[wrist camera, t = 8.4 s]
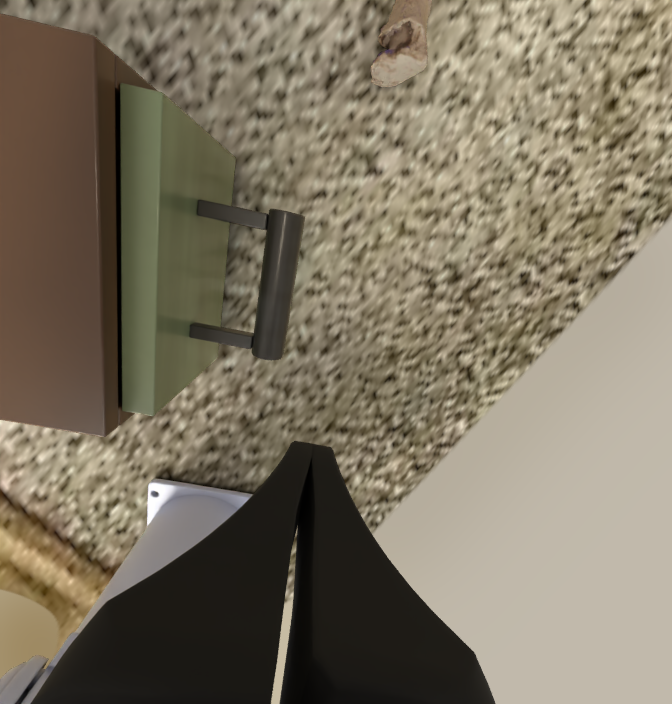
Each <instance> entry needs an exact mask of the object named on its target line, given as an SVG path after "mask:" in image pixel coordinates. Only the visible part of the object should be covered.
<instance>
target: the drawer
mask: <svg viewBox="0 0 672 704" xmlns="http://www.w3.org/2000/svg"><path fill="white" fill-rule="evenodd" d="M115 139H116V237H117V334H118V369H119V368H121V367H122V411H126V412H132V413H137V414H143V415H149V416H154V415H155V414H157V413H158V412H159V411H160V410H161V409H162V408H163V407H164V406H165V405H166V404H168V403H169V402H170V401H171V400H172V399H173V398H174V397H175V396H176V395H177V394H179V393H180V392H181V391H182V390H183V389H184V388H185V387H186V386H187V385H188V384H190V383H191V382H192V381H193V380H194V379H195V378H196V377H197V376H198V375H199V374H201V373H202V372H203V371H204V370H205V369H206V368H207V367H208V366H209V365H211V364H212V363H213V362H214V361H215V360H216V359H217V358H218V349H219V343H220V344H226V345H231V346H236V347H242V348H247V349H251V348H252V354H253V355H254V356H255V357H257V358H260V359H264V360H279V359H281V358H283V354H284V348H285V342H286V335H287V329H288V323H289V316H290V310H291V304H292V297H293V291H294V285H295V278H296V272H297V265H298V259H299V253H300V246H301V240H302V234H303V227H304V221H305V217H304V216H302V215H299V214H295V213H292V212H287V211H283V210H277V209H270V210H269V215H268V214H266V213H262V212H257V211H252V210H247V209H243V208H238V207H233V206H232V195H233V184H234V173H235V162H236V158H235V157H234V156H233V155H232V154H231V153H230V152H229V151H228V150H226V149H225V148H224V147H223V146H222V145H221V144H220V143H219V142H217V141H216V140H215V139H214V138H213V137H212V136H211V135H210V134H208V133H207V132H206V131H205V130H204V129H203V128H202V127H201V126H199V125H198V124H197V123H196V122H195V121H194V120H193V119H192V118H190V117H189V116H188V115H187V114H186V113H185V112H184V111H183V110H181V109H180V108H179V107H178V106H177V105H176V104H175V103H174V102H172V101H171V100H170V99H169V98H168V97H167V96H166V95H165V94H163V93H162V92H159V91H154V90H150V89H146V88H141V87H137V86H133V85H128V84H124V83H121V84H120V128H119V127H117V126H115ZM230 223H234V224H239V225H244V226H248V227H253V228H258V229H263V230H267V233H266V241H265V249H264V257H263V265H262V273H261V281H260V289H259V297H258V305H257V313H256V321H255V329H254V333H250V332H245V331H239V330H234V329H229V328H224V327H221V316H222V305H223V294H224V283H225V272H226V261H227V250H228V239H229V228H230Z"/></svg>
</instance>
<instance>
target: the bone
mask: <svg viewBox="0 0 672 704" xmlns="http://www.w3.org/2000/svg"><path fill="white" fill-rule="evenodd" d="M431 3H432V0H396V2H395V4H394V5H393V9H392V12H391V14H390V17H389V20H388V23H387V24H386V25H384V26H383V28H382V29H381V30H380V31H381V33H380V35H379V36H378V38H379V39H378V42H379V43H380V44H381V45H382V47H383V46H384V48H386V49H387V50H385V51H383V52H380V54H378V56H377V58H376V59H375V61H373V64H372V66H371V72H372V73H371V76H372V79H371V83H373V84H375V85H378V86H381V87H392V86H396V85H398V84H401V83H402V82H404V81H405V80H407V79H409V78H411V77H413V76H415V75H417V74H418V73H420V72H422V71H423V70H424V69H425V68H426V66H427V43H426V31H427V20H428V17H429V15H430V9H431Z"/></svg>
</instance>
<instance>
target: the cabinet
mask: <svg viewBox="0 0 672 704" xmlns="http://www.w3.org/2000/svg"><path fill="white" fill-rule="evenodd" d="M121 83H124V84H128V85H133V86H137V87H141V88H146V89H150V90H154V91H157V90H156V89H155V88H154V87H152V86H151V85H150V84H149V83H148V82H147V81H146V80H144V79H143V78H142V77H141V76H140V75H139V74H138V73H136V72H135V71H134V70H133V69H132V68H131V67H130V66H128V65H127V64H126V63H125V62H124V61H123V60H122V59H120V58H119V57H118V56H117V55H115V54H114V53H113V52H112V51H111V50H110V49H109V48H108V47H107V46H105V45H104V44H103V43H102V42H101V41H100V40H99V39H97V38H96V37H95V36H93V35H89V34H85V33H81V32H77V31H72V30H68V29H64V28H60V27H55V26H51V25H47V24H43V23H39V22H34V21H30V20H26V19H22V18H17V17H13V16H9V15H5V14H0V420H5V421H11V422H17V423H23V424H29V425H35V426H41V427H47V428H52V429H58V430H64V431H70V432H76V433H82V434H88V435H93V436H99V437H106V436H107V435H108V434H110V433H111V432H112V431H113V430H114V429H116V428H117V427H118V425H121V424H122V423H123V422H125V421H126V420H127V419H128V418H130V417H131V416H132V415H133V414H135V413H132V412H126V411H122V367H121V368H119V369H118V334H117V237H116V139H115V126H117V127H119V128H120V84H121Z"/></svg>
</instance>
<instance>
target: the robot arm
mask: <svg viewBox="0 0 672 704" xmlns="http://www.w3.org/2000/svg"><path fill="white" fill-rule="evenodd" d="M155 491H157V492H158V493H157V492H155ZM297 525H298V531H297V547H296V565H295V582H294V599H293V609H292V619H291V626H290V633H289V641H288V648H287V655H286V663H285V669H284V676H283V684H282V691H281V698H280V704H495V701H494V698H493V696H492V693H491V691H490V688H489V685H488V683H487V681H486V679H485V676H484V674H483V672H482V669H481V667H480V665H479V663H478V660H477V658H476V655H475V654H474V652H473V651H472V650H471V649H470V648H469V647H468V646H467V645H466V644H465V643H464V642H463V641H462V640H461V639H460V638H459V637H458V636H457V635H456V634H455V633H454V632H453V631H452V630H451V629H450V628H449V627H448V626H447V625H446V624H445V623H444V622H443V621H442V620H441V619H440V618H439V617H438V616H437V615H436V614H435V613H434V612H433V611H432V610H431V609H430V608H429V607H428V606H427V605H426V603H425V602H424V601H423V600H422V599H421V598H420V597H419V596H418V595H417V593H416V592H415V591H414V590H413V589H412V588H411V587H410V585H409V584H408V583H407V582H406V580H405V579H404V578H403V576H402V575H401V574H400V573H399V571H398V570H397V569H396V568H395V566H394V565H393V564H392V563H391V561H390V560H389V559H388V558H387V556H386V554H385V553H384V552H383V550H382V549H381V547H380V546H379V544H378V543H377V541H376V540H375V538H374V537H373V535H372V534H371V532H370V530H369V529H368V527H367V526H366V524H365V522H364V520H363V519H362V517H361V515H360V513H359V511H358V509H357V508H356V506H355V504H354V502H353V500H352V498H351V496H350V493H349V491H348V489H347V487H346V485H345V482H344V480H343V478H342V475H341V473H340V470H339V467H338V465H337V462H336V459H335V455H334V452H333V450H332V448H331V447H327V446H321V445H315V444H310V443H304V442H298V441H294V442H292V443H291V444H290V447H289V449H288V451H287V452H286V454H285V456H284V457H283V459H282V460H281V461H280V463H279V464H278V466H277V467H276V468H275V470H274V471H273V472H272V473H271V475H270V476H269V477H268V478H267V480H266V481H265V482H264V483H263V484H262V485H261V486H260V487H259V489H258V490H257V491H256V492H255V493H254V494H249V493H243V492H237V491H230V490H224V489H218V488H212V487H206V486H200V485H194V484H188V483H182V482H176V481H170V480H164V479H153V480H152V481H151V482H150V483H149V485H148V508H147V528H146V529H145V531H144V532H143V534H142V535H141V537H140V538H139V540H138V541H137V542H136V544H135V545H134V547H133V548H132V550H131V551H130V553H129V554H128V556H127V557H126V559H125V560H124V561H123V563H122V564H121V566H120V567H119V569H118V570H117V572H116V573H115V575H114V576H113V577H112V579H111V580H110V582H109V583H108V585H107V586H106V588H105V589H104V591H103V592H102V594H101V595H100V596H99V598H98V599H97V601H96V602H95V604H94V605H93V607H92V608H91V610H90V611H89V612H88V614H87V615H86V617H85V618H84V620H83V621H82V623H81V624H80V626H79V627H78V628H77V630H76V631H75V632H73V633H71V634H70V635H69V637H68V638H67V640H66V641H65V642H64V644H63V645H62V647H61V648H60V650H59V651H58V652H57V654H56V655H55V657H54V658H53V660H52V661H51V663H50V664H49V665H48V667H47V668H46V670H45V669H43V668H44V666H45V665H46V663H47V661H48V658H45V657H43V656H40V655H35V656H33V657H32V658H31V659H29V660H28V661H27V662H24V663H22V664H20V665H18V666H16V667H13V668H11V669H10V670H9V671H8V672H6V673H5V675H4V676H3V677H2V678H1V679H0V704H271V698H272V691H273V684H274V677H275V671H276V664H277V657H278V648H279V639H280V631H281V624H282V615H283V608H284V600H285V592H286V585H287V577H288V570H289V562H290V555H291V549H292V545H293V541H294V537H295V533H296V529H297Z"/></svg>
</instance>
